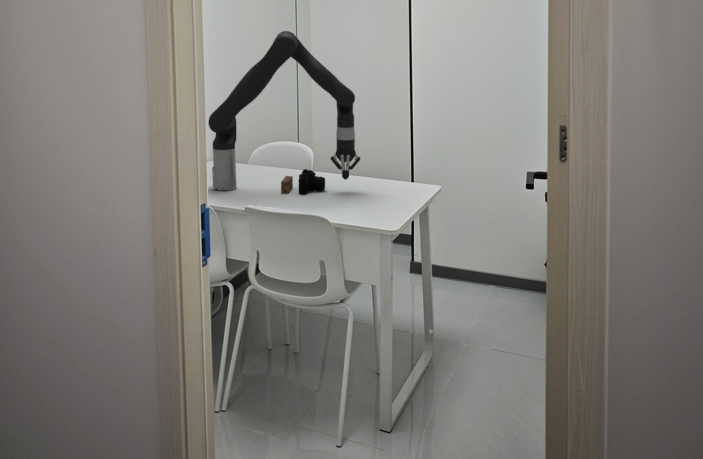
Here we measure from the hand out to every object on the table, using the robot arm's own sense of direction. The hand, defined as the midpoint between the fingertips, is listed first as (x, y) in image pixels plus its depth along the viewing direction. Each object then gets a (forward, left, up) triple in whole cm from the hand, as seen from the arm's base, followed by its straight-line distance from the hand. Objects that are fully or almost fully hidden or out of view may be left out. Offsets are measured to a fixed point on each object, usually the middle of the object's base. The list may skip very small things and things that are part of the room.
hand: (345, 179), depth 306 cm
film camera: (-14, 0, -6) cm, 15 cm away
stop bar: (-25, 0, -6) cm, 25 cm away
